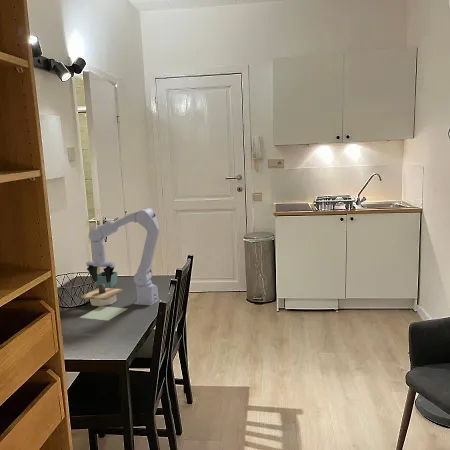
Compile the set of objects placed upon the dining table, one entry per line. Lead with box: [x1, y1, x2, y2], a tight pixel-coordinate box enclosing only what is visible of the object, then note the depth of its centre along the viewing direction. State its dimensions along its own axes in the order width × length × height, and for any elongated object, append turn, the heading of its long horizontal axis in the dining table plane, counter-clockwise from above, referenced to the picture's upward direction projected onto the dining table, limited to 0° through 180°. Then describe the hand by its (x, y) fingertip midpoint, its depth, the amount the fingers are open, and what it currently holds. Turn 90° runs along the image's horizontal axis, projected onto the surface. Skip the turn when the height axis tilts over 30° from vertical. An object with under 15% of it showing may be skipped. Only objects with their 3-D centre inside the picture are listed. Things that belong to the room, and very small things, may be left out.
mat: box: [79, 305, 128, 321], centre depth 211 cm, size 15×15×1 cm
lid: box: [80, 284, 124, 300], centre depth 225 cm, size 14×14×5 cm
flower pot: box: [95, 271, 118, 289], centre depth 245 cm, size 9×9×9 cm
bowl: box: [89, 295, 118, 307], centre depth 226 cm, size 12×12×4 cm
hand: (102, 281), depth 225 cm, fingers open, 7 cm apart
